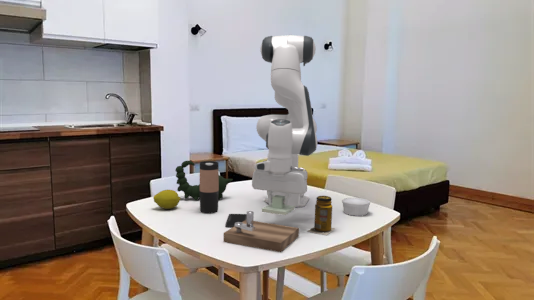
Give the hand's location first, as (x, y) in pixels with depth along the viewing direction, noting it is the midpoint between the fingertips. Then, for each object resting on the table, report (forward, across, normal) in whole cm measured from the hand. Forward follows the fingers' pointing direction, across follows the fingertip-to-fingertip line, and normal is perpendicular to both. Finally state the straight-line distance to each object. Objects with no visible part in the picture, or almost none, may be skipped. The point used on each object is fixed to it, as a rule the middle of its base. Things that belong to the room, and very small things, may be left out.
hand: (278, 203), depth 149 cm
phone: (+9, +16, 0) cm, 19 cm away
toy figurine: (+9, +45, -22) cm, 51 cm away
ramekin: (+9, -21, -32) cm, 40 cm away
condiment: (+9, -15, -4) cm, 18 cm away
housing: (+9, 0, +14) cm, 16 cm away
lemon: (+9, +50, -2) cm, 51 cm away
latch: (+4, +4, +19) cm, 20 cm away
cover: (+2, 0, 0) cm, 3 cm away
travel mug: (+9, +33, -6) cm, 35 cm away
